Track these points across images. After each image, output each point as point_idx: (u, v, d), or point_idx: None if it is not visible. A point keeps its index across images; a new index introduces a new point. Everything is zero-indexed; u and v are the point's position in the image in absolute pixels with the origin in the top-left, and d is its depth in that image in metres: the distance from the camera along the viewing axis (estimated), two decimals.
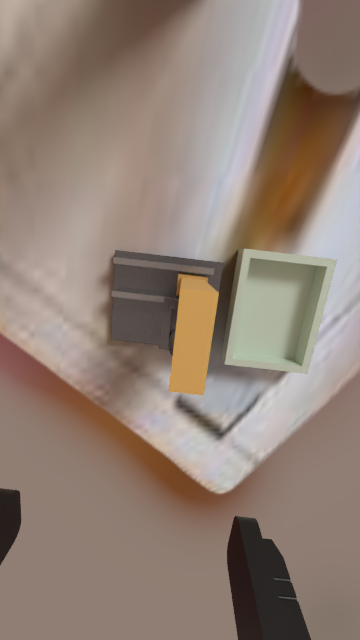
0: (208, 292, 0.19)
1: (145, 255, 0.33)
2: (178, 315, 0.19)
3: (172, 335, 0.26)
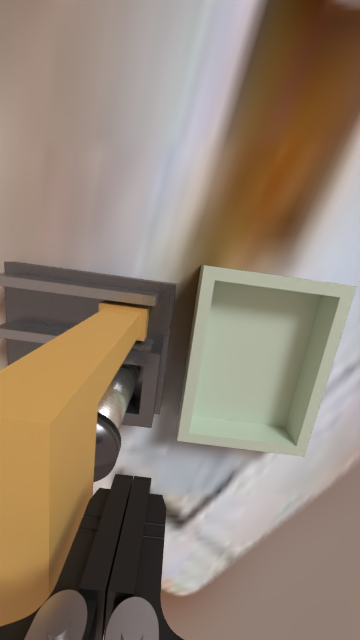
0: (21, 420, 0.06)
1: (52, 271, 0.21)
2: None
3: None
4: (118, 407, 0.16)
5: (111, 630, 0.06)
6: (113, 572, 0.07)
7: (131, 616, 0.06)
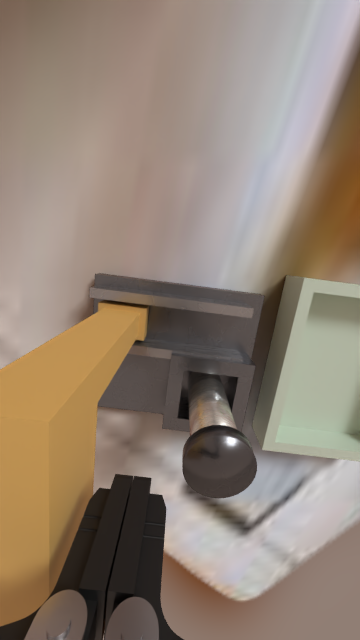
0: (20, 418, 0.06)
1: (142, 282, 0.21)
2: None
3: (190, 452, 0.13)
4: (233, 420, 0.17)
5: (110, 630, 0.06)
6: (113, 572, 0.07)
7: (131, 616, 0.06)
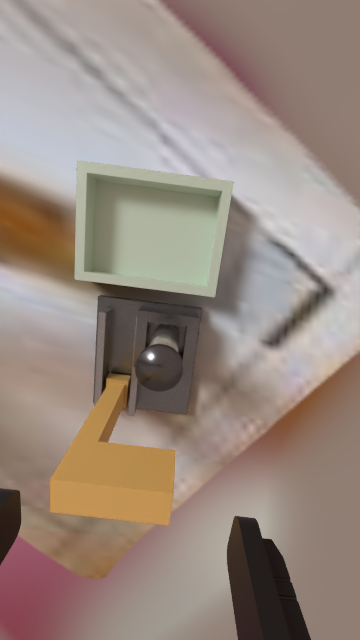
0: (51, 487, 0.17)
1: (96, 375, 0.32)
2: (78, 514, 0.18)
3: (147, 386, 0.22)
4: (154, 342, 0.24)
5: None
6: None
7: None
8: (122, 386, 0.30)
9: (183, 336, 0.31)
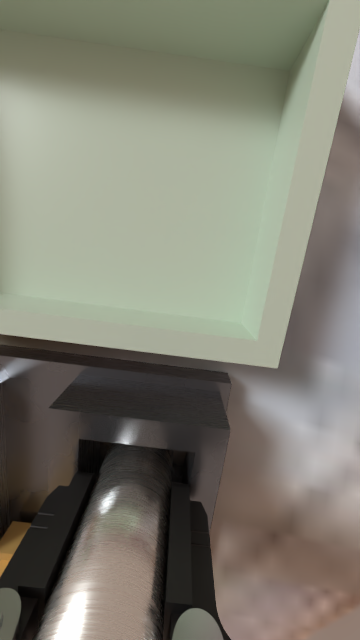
0: None
1: None
2: None
3: None
4: (64, 597, 0.06)
5: (177, 634, 0.06)
6: (168, 582, 0.07)
7: (195, 629, 0.06)
8: None
9: None
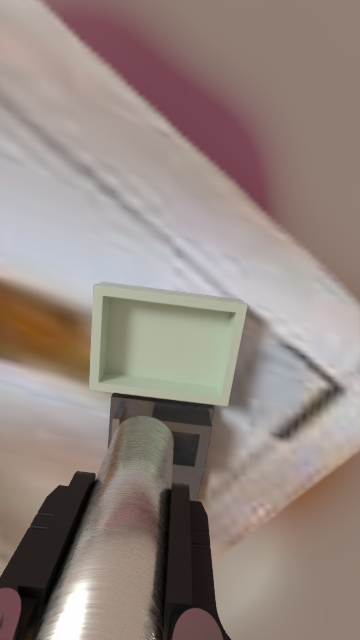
0: None
1: None
2: None
3: None
4: (64, 596, 0.06)
5: (177, 635, 0.06)
6: (168, 583, 0.07)
7: (195, 629, 0.06)
8: None
9: None
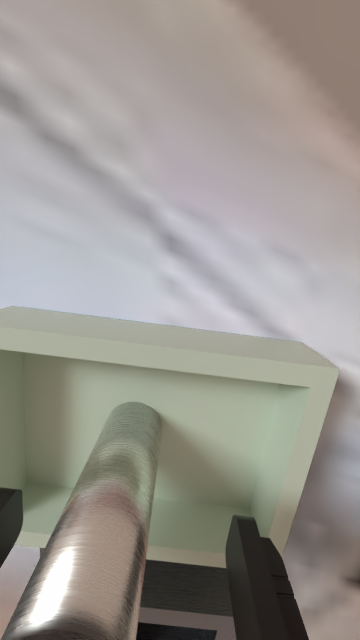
0: None
1: None
2: None
3: None
4: (60, 538, 0.07)
5: None
6: None
7: None
8: None
9: None
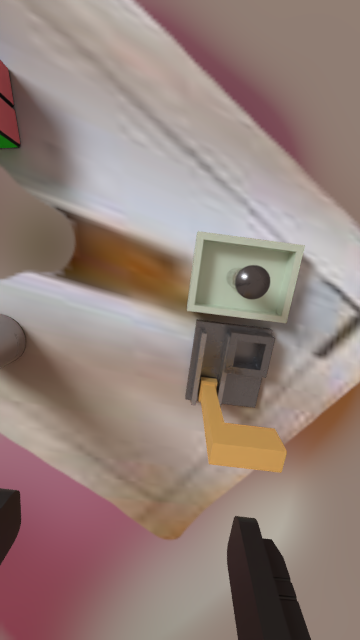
0: (212, 448, 0.28)
1: (189, 378, 0.44)
2: (226, 465, 0.29)
3: (243, 295, 0.30)
4: None
5: None
6: None
7: None
8: (214, 386, 0.41)
9: (257, 349, 0.42)
